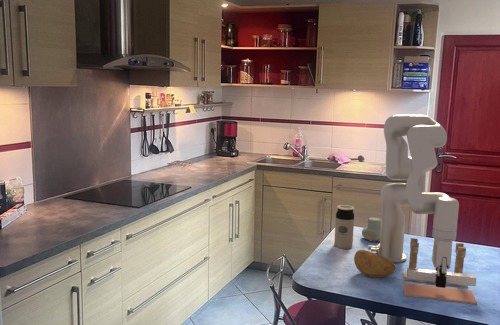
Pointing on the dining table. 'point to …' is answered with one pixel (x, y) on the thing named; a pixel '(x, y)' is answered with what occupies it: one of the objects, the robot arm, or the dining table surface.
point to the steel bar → (451, 276)
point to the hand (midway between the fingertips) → (439, 284)
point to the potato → (373, 264)
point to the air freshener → (372, 229)
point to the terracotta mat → (439, 293)
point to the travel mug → (344, 227)
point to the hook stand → (458, 261)
